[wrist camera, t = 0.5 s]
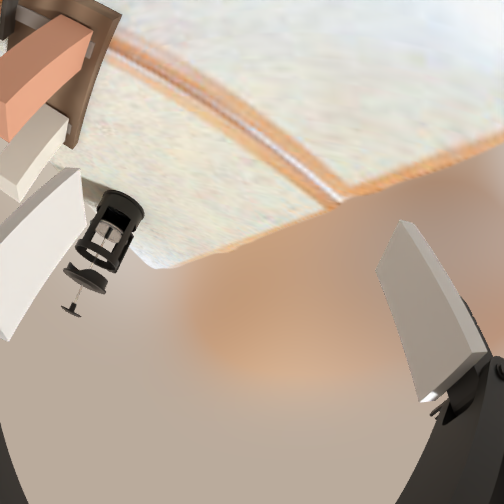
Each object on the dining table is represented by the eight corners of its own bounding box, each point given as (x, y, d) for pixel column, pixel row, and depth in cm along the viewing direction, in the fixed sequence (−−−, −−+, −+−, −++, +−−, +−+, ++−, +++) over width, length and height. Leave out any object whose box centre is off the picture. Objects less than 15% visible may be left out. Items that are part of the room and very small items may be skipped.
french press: (94, 186, 51) (36, 294, 41) (130, 189, 49) (68, 310, 39) (120, 220, 61) (74, 317, 51) (155, 226, 59) (107, 333, 49)
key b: (93, 30, 20) (5, 104, 15) (80, 69, 25) (9, 143, 19) (61, 14, 18) (-28, 82, 12) (51, 52, 22) (-22, 122, 17)
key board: (122, 14, 20) (100, 28, 18) (77, 143, 40) (65, 158, 39) (27, -28, 13) (4, -16, 11) (13, 101, 33) (-1, 115, 32)
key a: (68, 118, 32) (16, 185, 27) (64, 140, 37) (20, 203, 32) (44, 103, 30) (-10, 167, 25) (42, 126, 35) (-4, 186, 30)
